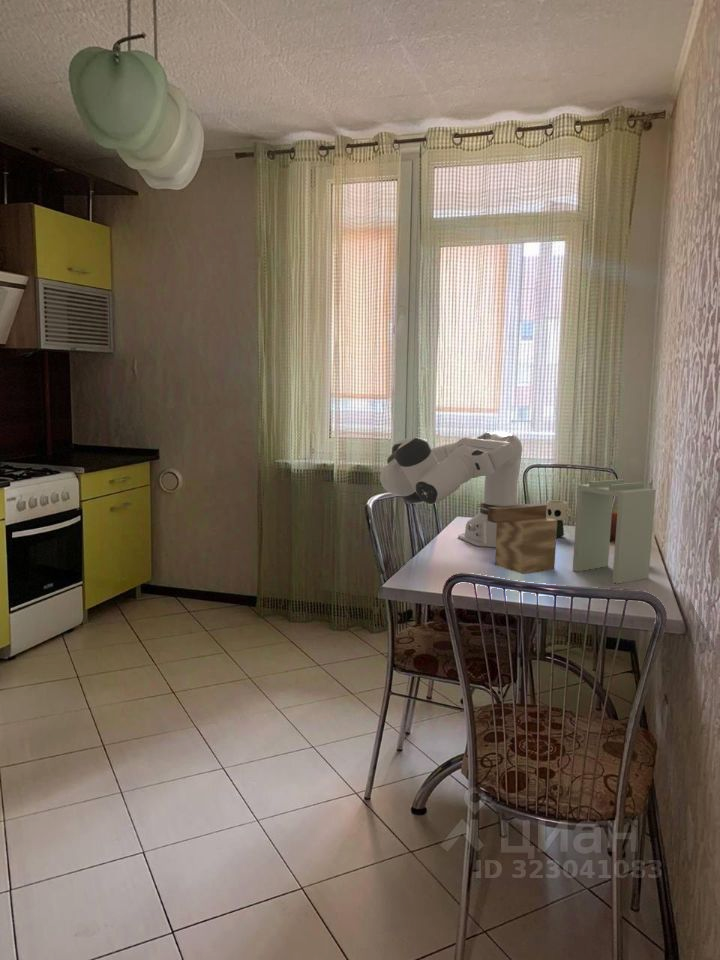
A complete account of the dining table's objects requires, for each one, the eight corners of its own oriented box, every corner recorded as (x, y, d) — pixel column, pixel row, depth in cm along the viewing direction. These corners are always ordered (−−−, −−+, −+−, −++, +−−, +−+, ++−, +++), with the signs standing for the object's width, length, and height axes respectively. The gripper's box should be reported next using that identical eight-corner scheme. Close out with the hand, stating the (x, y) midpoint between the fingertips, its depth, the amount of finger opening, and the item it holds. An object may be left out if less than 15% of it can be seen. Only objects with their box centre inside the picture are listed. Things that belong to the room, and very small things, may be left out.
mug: (593, 539, 262) (595, 511, 260) (597, 535, 269) (599, 508, 268) (628, 543, 256) (630, 515, 255) (631, 539, 264) (633, 511, 263)
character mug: (536, 535, 266) (539, 501, 264) (544, 533, 271) (546, 498, 270) (565, 540, 259) (567, 504, 258) (572, 537, 265) (575, 502, 263)
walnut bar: (487, 520, 212) (487, 507, 211) (536, 515, 222) (537, 503, 222) (496, 523, 208) (497, 509, 208) (546, 518, 219) (546, 505, 218)
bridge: (572, 570, 216) (578, 479, 212) (603, 565, 223) (610, 477, 220) (616, 583, 203) (623, 487, 199) (648, 577, 210) (656, 484, 206)
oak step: (494, 564, 221) (497, 516, 219) (525, 560, 228) (528, 513, 226) (522, 574, 211) (525, 523, 209) (554, 569, 218) (557, 520, 216)
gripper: (446, 467, 207) (479, 442, 212) (495, 476, 189) (529, 448, 195) (438, 448, 204) (472, 424, 210) (487, 455, 187) (522, 428, 192)
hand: (500, 436), depth 202 cm, fingers open, 8 cm apart
